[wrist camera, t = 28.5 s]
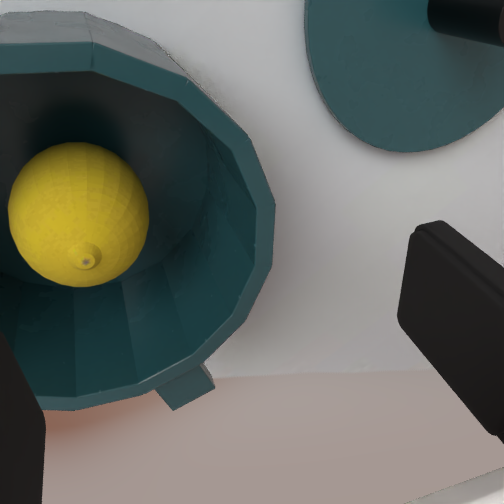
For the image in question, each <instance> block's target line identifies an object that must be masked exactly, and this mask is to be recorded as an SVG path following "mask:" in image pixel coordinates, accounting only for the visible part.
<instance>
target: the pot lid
mask: <svg viewBox="0 0 504 504" xmlns="http://www.w3.org/2000/svg"><path fill="white" fill-rule="evenodd" d="M304 30H305V42H306V51H307V56H308V60H309V65H310V70H311V73H312V76H313V79H314V81H315V84H316V87H317V89H318V91H319V93H320V95H321V97H322V99H323V101H324V103H325V105H326V106H327V108H328V109H329V111H330V112H331V113H332V115H333V116H334V117H335V119H336V120H337V121H338V122H339V123H340V124H341V125H342V126H343V127H344V128H345V129H346V130H348V131H349V132H350V133H352V134H353V135H355V136H356V137H357V138H359V139H360V140H362V141H364V142H366V143H368V144H370V145H372V146H374V147H378V148H381V149H384V150H388V151H395V152H420V151H425V150H431V149H435V148H438V147H441V146H444V145H447V144H449V143H452V142H454V141H456V140H458V139H461V138H463V137H464V136H466V135H468V134H469V133H471V132H473V131H474V130H476V129H477V128H479V127H480V126H482V125H483V124H484V123H486V122H487V121H488V120H490V119H491V118H492V117H493V116H494V115H495V114H497V113H498V112H499V111H500V110H501V109H502V108H503V107H504V0H305V12H304Z"/></svg>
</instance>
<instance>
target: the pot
mask: <svg viewBox="0 0 504 504" xmlns="http://www.w3.org/2000/svg"><path fill="white" fill-rule="evenodd" d="M67 142H86V143H90V144H94V145H98V146H101V147H103V148H105V149H107V150H109V151H111V152H113V153H115V154H117V155H118V156H119V157H120V158H121V159H123V160H124V161H125V162H126V163H128V164H129V165H130V167H131V168H132V170H133V171H134V172H135V174H136V175H137V176H138V178H139V179H140V181H141V184H142V186H143V189H144V191H145V194H146V197H147V200H148V210H149V226H148V231H147V235H146V240H145V243H144V246H143V248H142V250H141V252H140V254H139V255H138V257H137V259H136V260H135V261H134V263H133V264H132V265H131V266H130V267H129V268H128V269H127V270H126V271H125V272H123V273H122V274H120V275H119V276H117V277H116V278H114V279H113V280H110V281H108V282H105V283H103V284H100V285H95V286H89V287H72V286H67V285H62V284H59V283H56V282H54V281H52V280H49V279H47V278H45V277H43V276H42V275H41V274H39V273H38V272H36V271H35V270H34V269H32V268H31V266H30V265H29V264H28V263H27V262H26V260H25V259H24V258H23V257H22V255H21V254H20V252H19V251H18V248H17V246H16V244H15V241H14V239H13V237H12V234H11V231H10V225H9V215H8V203H9V198H10V194H11V189H12V186H13V183H14V182H15V180H16V178H17V176H18V175H19V173H20V171H21V169H22V168H23V167H24V165H26V164H27V163H28V162H29V161H30V160H31V159H32V158H33V157H34V156H35V155H36V154H38V153H40V152H42V151H44V150H45V149H47V148H49V147H51V146H54V145H58V144H63V143H67ZM275 206H276V204H275V200H274V197H273V195H272V192H271V190H270V187H269V185H268V182H267V180H266V177H265V175H264V172H263V169H262V167H261V164H260V162H259V159H258V157H257V154H256V152H255V149H254V147H253V144H252V142H251V139H250V138H249V137H248V135H247V134H246V133H245V132H244V131H243V130H242V128H241V127H240V126H239V125H238V124H237V123H236V122H235V121H234V120H233V119H232V118H231V117H230V116H229V115H228V114H227V113H226V112H225V111H224V110H223V109H222V108H221V107H220V106H219V105H218V104H217V103H216V102H215V101H214V100H213V99H212V98H211V97H210V96H209V95H208V94H207V93H206V92H205V91H204V90H203V89H202V88H201V87H200V86H199V85H198V84H197V83H196V82H195V81H194V80H193V79H192V78H191V77H190V76H189V75H188V74H187V73H186V72H185V71H184V70H183V69H182V68H181V67H180V66H179V65H178V64H177V63H176V62H175V61H174V60H173V59H172V58H171V57H169V56H168V55H167V54H166V53H165V52H164V51H163V50H162V49H161V48H160V47H159V46H158V45H157V44H156V43H155V42H154V41H152V40H151V39H150V38H148V37H145V36H143V35H140V34H138V33H135V32H133V31H131V30H129V29H127V28H124V27H122V26H120V25H118V24H116V23H113V22H110V21H107V20H104V19H101V18H99V17H96V16H94V15H91V14H89V13H86V12H63V11H34V12H8V13H5V14H3V15H1V16H0V331H1V332H2V333H3V334H4V336H5V338H6V340H7V342H8V344H9V346H10V348H11V350H12V352H13V354H14V356H15V358H16V360H17V362H18V364H19V366H20V368H21V370H22V372H23V374H24V376H25V378H26V380H27V382H28V384H29V386H30V388H31V390H32V392H33V394H34V396H35V397H36V399H37V401H38V403H39V405H40V407H41V409H42V410H62V411H75V410H80V409H85V408H89V407H93V406H98V405H102V404H106V403H111V402H115V401H119V400H123V399H128V398H132V397H136V396H140V395H143V394H146V393H148V392H150V391H152V390H153V389H155V390H156V391H157V393H158V394H159V395H160V396H161V397H162V399H163V400H164V401H165V402H166V403H167V404H168V405H169V407H170V408H171V409H172V410H173V411H174V410H176V409H178V408H179V407H182V406H183V405H185V404H187V403H189V402H191V401H193V400H195V399H196V398H198V397H200V396H202V395H204V394H206V393H208V392H209V391H211V390H213V389H215V385H214V382H213V379H212V376H211V374H210V372H209V371H208V369H207V368H206V366H205V365H204V364H203V362H204V361H205V360H206V359H207V358H208V357H209V356H210V355H211V354H212V353H213V352H214V351H215V350H216V349H218V348H219V347H220V346H221V345H222V344H223V343H224V342H225V341H226V340H227V339H228V338H229V337H230V336H231V335H232V334H233V333H234V332H235V331H236V330H237V329H238V328H239V327H240V326H241V325H242V324H243V323H244V322H245V320H246V319H247V317H248V315H249V313H250V310H251V308H252V306H253V304H254V302H255V300H256V298H257V296H258V294H259V292H260V290H261V288H262V286H263V284H264V282H265V280H266V278H267V275H268V273H269V271H270V269H271V267H272V259H273V242H274V224H275Z"/></svg>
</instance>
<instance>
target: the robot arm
mask: <svg viewBox="0 0 504 504" xmlns="http://www.w3.org/2000/svg"><path fill="white" fill-rule="evenodd" d="M397 318H398V322H399V324H400V326H401V328H402V329H403V330H404V332H405V333H406V334H407V335H408V336H409V338H410V339H411V340H412V341H413V342H414V344H415V345H416V346H417V347H418V349H419V350H420V351H421V352H422V353H423V355H424V356H425V357H426V358H427V359H428V361H429V362H430V363H431V364H432V365H433V367H434V368H435V369H436V370H437V371H438V373H439V374H440V375H441V376H442V378H443V379H444V380H445V381H446V382H447V384H448V385H449V386H450V387H451V388H452V390H453V391H454V392H455V393H456V394H457V396H458V397H459V398H460V399H461V400H462V401H463V403H464V404H465V405H466V407H467V408H468V409H469V410H470V411H471V413H472V414H473V415H474V416H475V417H476V419H477V420H478V421H479V422H480V423H481V425H482V426H483V427H484V428H485V429H486V430H487V431H488V433H490V434H491V435H495V436H496V435H497V436H498V438H499V439H500V440H501V441H502V442H503V444H504V267H502V266H501V265H500V264H499V263H497V262H496V261H495V260H493V259H492V258H491V257H490V256H488V255H487V254H486V253H484V252H483V251H482V250H481V249H479V248H478V247H477V246H475V245H474V244H473V243H472V242H470V241H469V240H468V239H466V238H465V237H464V236H463V235H461V234H460V233H459V232H458V231H456V230H455V229H454V228H452V227H451V226H450V225H449V224H447V223H446V222H444V221H441V220H438V221H434V222H430V223H426V224H421V225H419V226H417V227H416V229H415V231H414V232H413V233H412V234H411V235H410V238H409V244H408V250H407V256H406V263H405V269H404V275H403V281H402V287H401V293H400V300H399V306H398V312H397ZM45 433H46V425H45V418H44V414H43V412H42V409H41V407H40V405H39V403H38V401H37V399H36V397H35V396H34V394H33V392H32V390H31V388H30V386H29V384H28V382H27V380H26V378H25V376H24V374H23V372H22V370H21V368H20V366H19V364H18V362H17V360H16V358H15V356H14V354H13V352H12V350H11V348H10V346H9V344H8V342H7V340H6V338H5V336H4V334H3V333H2V332H1V331H0V504H42V486H43V470H44V452H45ZM405 504H504V467H502V468H500V469H497V470H494V471H492V472H489V473H486V474H484V475H481V476H478V477H476V478H473V479H470V480H467V481H464V482H462V483H459V484H456V485H454V486H451V487H448V488H445V489H443V490H440V491H438V492H435V493H432V494H429V495H426V496H424V497H421V498H418V499H416V500H413V501H410V502H408V503H405Z"/></svg>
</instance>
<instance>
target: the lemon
mask: <svg viewBox="0 0 504 504" xmlns="http://www.w3.org/2000/svg"><path fill="white" fill-rule="evenodd" d="M8 215H9V225H10V231H11V234H12V237H13V239H14V241H15V244H16V246H17V248H18V251H19V252H20V254H21V255H22V257H23V258H24V259H25V260H26V262H27V263H28V264H29V265H30V266H31V268H32V269H34V270H35V271H36V272H38V273H39V274H41V275H42V276H43V277H45V278H47V279H49V280H52V281H54V282H56V283H59V284H62V285H67V286H72V287H89V286H95V285H100V284H103V283H105V282H108V281H110V280H113V279H114V278H116V277H117V276H119V275H120V274H122V273H123V272H125V271H126V270H127V269H128V268H129V267H130V266H131V265H132V264H133V263H134V261H135V260H136V259H137V257H138V255H139V254H140V252H141V250H142V248H143V246H144V243H145V240H146V235H147V231H148V226H149V210H148V200H147V197H146V194H145V191H144V189H143V186H142V184H141V181H140V179H139V178H138V176H137V175H136V174H135V172H134V171H133V170H132V168H131V167H130V165H129V164H128V163H126V162H125V161H124V160H123V159H121V158H120V157H119V156H118V155H117V154H115V153H113V152H111V151H109V150H107V149H105V148H103V147H101V146H98V145H94V144H90V143H86V142H67V143H63V144H58V145H54V146H51V147H49V148H47V149H45V150H44V151H42V152H40V153H38V154H36V155H35V156H34V157H33V158H32V159H31V160H30V161H29V162H28V163H27V164H26V165H24V167H23V168H22V169H21V171H20V173H19V175H18V176H17V178H16V180H15V182H14V183H13V186H12V189H11V194H10V198H9V203H8Z"/></svg>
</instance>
